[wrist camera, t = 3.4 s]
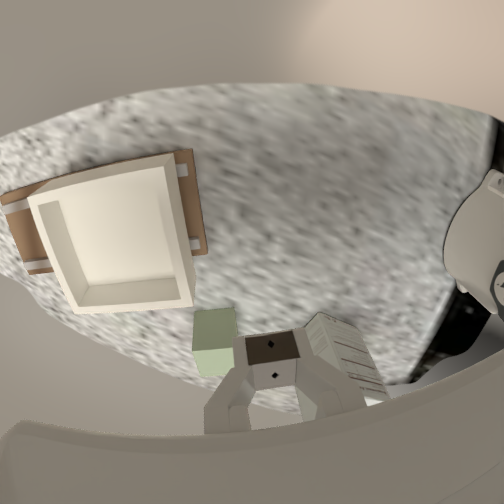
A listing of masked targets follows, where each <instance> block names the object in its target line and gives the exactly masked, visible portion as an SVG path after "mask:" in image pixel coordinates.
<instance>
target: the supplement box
mask: <svg viewBox="0 0 504 504" xmlns="http://www.w3.org/2000/svg"><path fill="white" fill-rule="evenodd" d="M304 329H305V331H306V334H307V337H308V340H309V343H310V345H311V348H312V351H313V354H314V356H315V355H318V356H320V357H321V358H322V359H324V360H325V361H327V362H328V363H330V364H331V365H332V366H334V367H335V368H337V369H338V370H340V371H341V372H343V373H344V374H345V375H347V376H348V377H350V378H351V379H353V380H354V381H356V382H357V383H358V384H359V387H360V389H361V391H362V394H363V396H364V399H365V401H366V403H367V406H371V405H374V404H377V403H380V402H384V401H387V400H390V399H391V398H390V396H389V394H388V391H387V389H386V387H385V385H384V383H383V381H382V378H381V376H380V374H379V372H378V370H377V368H376V366H375V364H374V361H373V359H372V357H371V355H370V353H369V351H368V349H367V347H366V345H365V343H364V341H363V339H362V337H361V334H360V332H359V330H358V329H357V328H356V327H354V326H352V325H349V324H347V323H344V322H342V321H340V320H337V319H335V318H333V317H330V316H328V315H325V314H323V313H321V312H318V313H317V314H316V316H315V317H314V318H313V319H312V320H311V321H310V322H309V323H308V324H307V325H306V327H305V328H304ZM294 386H295V385H294ZM295 390H296V394H297V398H298V402H299V406H300V410H301V414H302V418H303V422H307V421H311V420H315V416H316V411H317V407H318V406H317V405H315V404H314V403H313V402H312V401H311V400H310V399H309V398H308V397H307V396H306V395H305V394H304V393H303V392H302V391H300V390H299V389H298V388H297V387H296V386H295Z"/></svg>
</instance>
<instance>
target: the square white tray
mask: <svg viewBox="0 0 504 504" xmlns="http://www.w3.org/2000/svg"><path fill="white" fill-rule="evenodd" d="M27 199H28V203H29V206H30V209H31V212H32V215H33V218H34V221H35V224H36V227H37V230H38V232H39V235H40V238H41V240H42V243H43V246H44V248H45V251H46V253H47V256H48V258H49V260H50V263H51V265H52V267H53V270H54V272H55V274H56V277H57V279H58V281H59V283H60V285H61V287H62V290H63V292H64V294H65V296H66V298H67V300H68V302H69V304H70V306H71V308H72V310H73V312H74V314H94V313H113V312H129V311H143V310H156V309H169V308H180V307H191V306H194V295H195V285H196V273H195V268H194V264H193V259H192V254H191V249H190V244H189V239H188V234H187V229H186V224H185V218H184V213H183V207H182V202H181V196H180V190H179V184H178V178H177V172H176V166H175V160H174V153H171V154H165V155H159V156H153V157H148V158H142V159H137V160H132V161H127V162H122V163H117V164H113V165H108V166H104V167H99V168H95V169H91V170H87V171H83V172H79V173H75V174H71V175H67V176H64V177H60V178H57V179H53V180H51V181H49V182H48V183H46V184H45V185H43V186H42V187H41V188H39V189H38V190H36V191H35V192H34V193H32V194H31V195H29V196H28V197H27Z"/></svg>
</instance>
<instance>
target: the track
mask: <svg viewBox="0 0 504 504" xmlns="http://www.w3.org/2000/svg"><path fill="white" fill-rule="evenodd" d="M171 153H174V160H175V166H176V172H177V178H178V184H179V190H180V196H181V202H182V207H183V213H184V218H185V224H186V229H187V234H188V239H189V244H190V249H191V254H192V256H196V255H205V254H207V253H208V249H207V243H206V237H205V231H204V225H203V219H202V212H201V206H200V199H199V193H198V186H197V179H196V172H195V165H194V158H193V150H192V149H186V150H179V151H173V152H166V153H161V154H155V155H149V156H144V157H139V158H133V159H128V160H124V161H119V162H114V163H110V164H105V165H101V166H97V167H93V168H88V169H84V170H80V171H77V172H73V173H69V174H65V175H62V176H58V177H55V178H51V179H48V180H44V181H41V182H38V183H35V184H32V185H28V186H25V187H22V188H19V189H16V190H13V191H11V192H8V193H5V194H3V195H1V196H0V201H1V204H2V209H3V212H4V215H5V216H6V219H7V222H8V225H9V227H10V230H11V233H12V235H13V238H14V240H15V243H16V245H17V248H18V250H19V253H20V255H21V257H22V260H23V262H24V263H23V264H24V266H25V268H26V270H27V271H28V273H29V275H33V274H41V273H50V272H54V270H53V267H52V265H51V263H50V260H49V258H48V256H47V253H46V251H45V248H44V246H43V243H42V240H41V238H40V235H39V232H38V230H37V227H36V224H35V221H34V218H33V215H32V212H31V209H30V206H29V203H28V199H27V197H28V196H29V195H31V194H32V193H34V192H35V191H36V190H38V189H39V188H41V187H42V186H43V185H45V184H46V183H48V182H49V181H51V180H53V179H57V178H60V177H64V176H67V175H71V174H75V173H79V172H83V171H87V170H91V169H95V168H99V167H104V166H108V165H113V164H117V163H122V162H127V161H132V160H137V159H142V158H148V157H153V156H159V155H165V154H171Z"/></svg>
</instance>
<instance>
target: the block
mask: <svg viewBox="0 0 504 504" xmlns="http://www.w3.org/2000/svg"><path fill="white" fill-rule="evenodd" d="M236 336H238V331H237V324H236V317H235V311H234V307H233V308H224V309H214V310H204V311H195V312H194V326H193V342H192V353H193V356H194V359H195V362H196V365H197V368H198V370H199V373H200V376H201V377H205V376H218V375H226V374H227V373H228V372H229V370H230V369H231V368H234V358H233V347H232V337H236Z"/></svg>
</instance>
